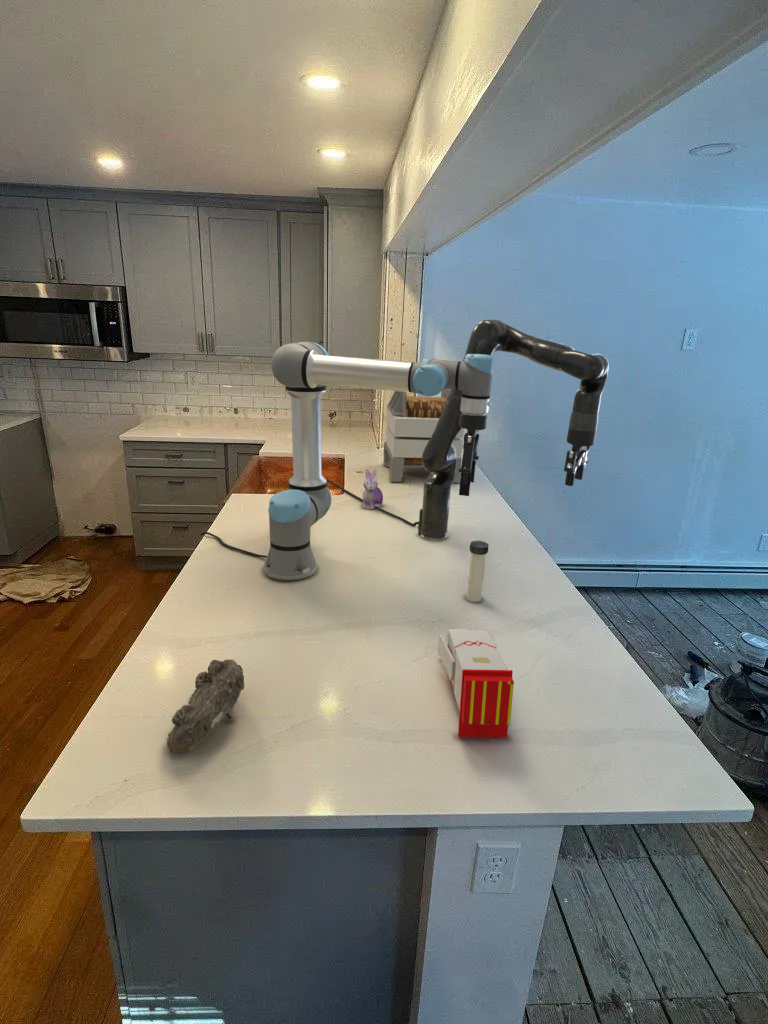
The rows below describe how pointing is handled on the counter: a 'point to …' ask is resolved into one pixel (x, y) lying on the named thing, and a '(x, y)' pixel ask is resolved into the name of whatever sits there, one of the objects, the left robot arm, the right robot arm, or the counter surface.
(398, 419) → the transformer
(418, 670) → the counter surface
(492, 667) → the toy
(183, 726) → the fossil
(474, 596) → the jar
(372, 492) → the figurine
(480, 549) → the lid
